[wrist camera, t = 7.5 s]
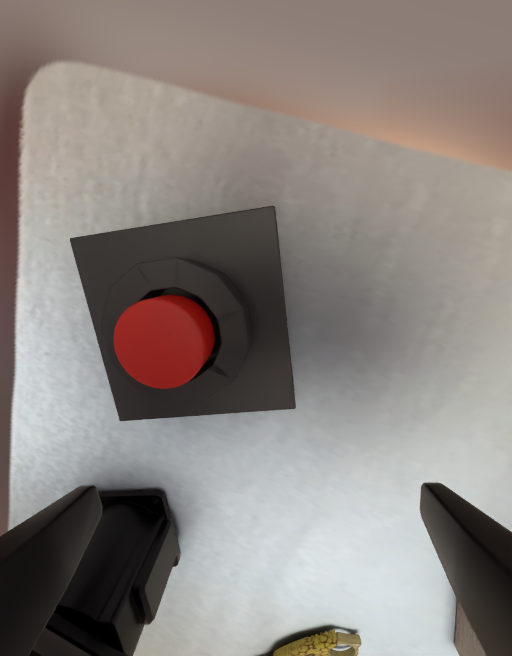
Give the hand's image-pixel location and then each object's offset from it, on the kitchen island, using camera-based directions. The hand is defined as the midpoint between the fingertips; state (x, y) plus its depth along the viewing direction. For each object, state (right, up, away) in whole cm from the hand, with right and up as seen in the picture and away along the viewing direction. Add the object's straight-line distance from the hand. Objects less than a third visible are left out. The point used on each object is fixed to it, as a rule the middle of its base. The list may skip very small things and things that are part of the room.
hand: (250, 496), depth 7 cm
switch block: (-3, +5, +8) cm, 10 cm away
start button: (-3, +4, +4) cm, 7 cm away
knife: (+3, -24, +14) cm, 28 cm away
